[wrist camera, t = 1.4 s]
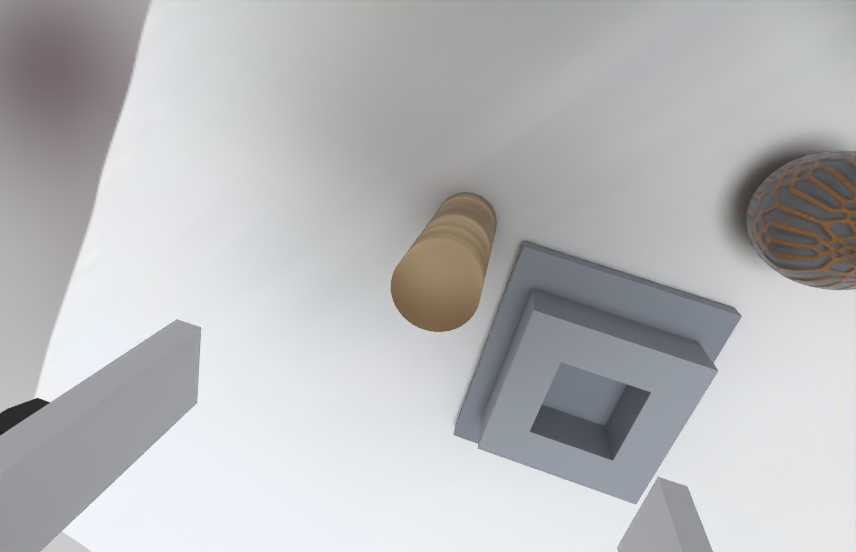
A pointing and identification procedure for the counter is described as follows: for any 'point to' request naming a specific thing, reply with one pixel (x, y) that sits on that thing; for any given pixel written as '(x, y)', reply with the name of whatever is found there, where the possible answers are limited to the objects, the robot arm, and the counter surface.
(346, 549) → the counter surface
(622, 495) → the socket
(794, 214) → the vase
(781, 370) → the counter surface
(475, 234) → the peg
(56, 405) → the robot arm
